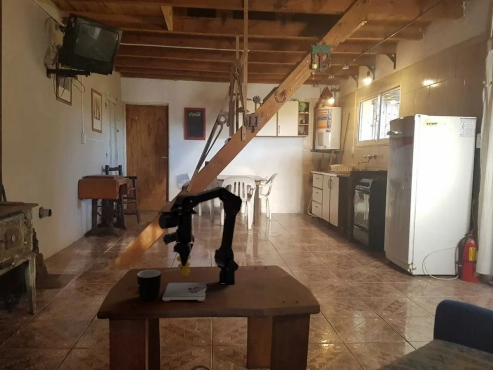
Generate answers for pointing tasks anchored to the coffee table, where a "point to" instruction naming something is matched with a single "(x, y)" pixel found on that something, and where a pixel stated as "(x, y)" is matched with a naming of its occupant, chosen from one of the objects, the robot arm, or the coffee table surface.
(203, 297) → the stand
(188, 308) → the coffee table surface
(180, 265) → the pressure relief valve
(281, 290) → the coffee table surface
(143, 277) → the mug
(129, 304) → the coffee table surface
